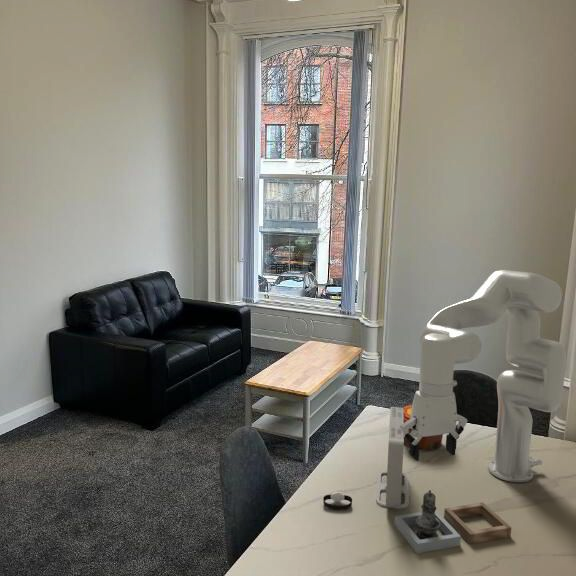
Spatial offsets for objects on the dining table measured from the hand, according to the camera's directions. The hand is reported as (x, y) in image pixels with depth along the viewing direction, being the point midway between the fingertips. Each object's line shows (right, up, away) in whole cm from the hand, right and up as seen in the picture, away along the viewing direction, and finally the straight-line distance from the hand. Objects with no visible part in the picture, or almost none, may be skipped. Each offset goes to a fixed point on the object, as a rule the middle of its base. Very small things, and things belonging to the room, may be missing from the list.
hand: (432, 455), depth 131 cm
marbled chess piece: (0, -21, +3) cm, 21 cm away
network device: (-5, -17, +24) cm, 30 cm away
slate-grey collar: (-1, -21, +3) cm, 21 cm away
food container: (+10, -12, +54) cm, 56 cm away
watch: (-21, -19, +15) cm, 32 cm away
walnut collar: (+13, -20, +7) cm, 25 cm away
